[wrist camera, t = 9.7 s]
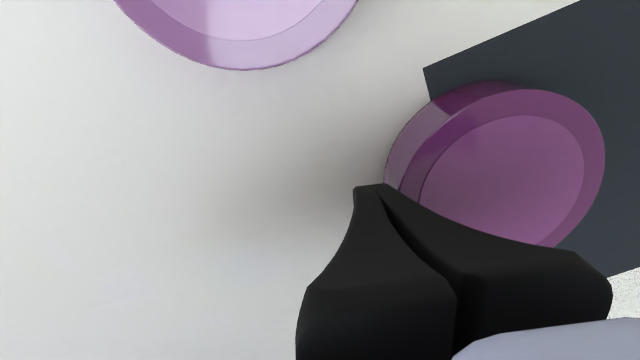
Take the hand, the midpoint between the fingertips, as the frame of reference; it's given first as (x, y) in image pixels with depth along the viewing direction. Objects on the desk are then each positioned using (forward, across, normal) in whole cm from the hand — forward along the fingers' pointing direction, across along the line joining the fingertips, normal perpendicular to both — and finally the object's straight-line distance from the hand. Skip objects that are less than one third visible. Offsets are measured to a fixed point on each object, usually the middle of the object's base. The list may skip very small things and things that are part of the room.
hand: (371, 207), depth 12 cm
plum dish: (+1, -5, 0) cm, 5 cm away
